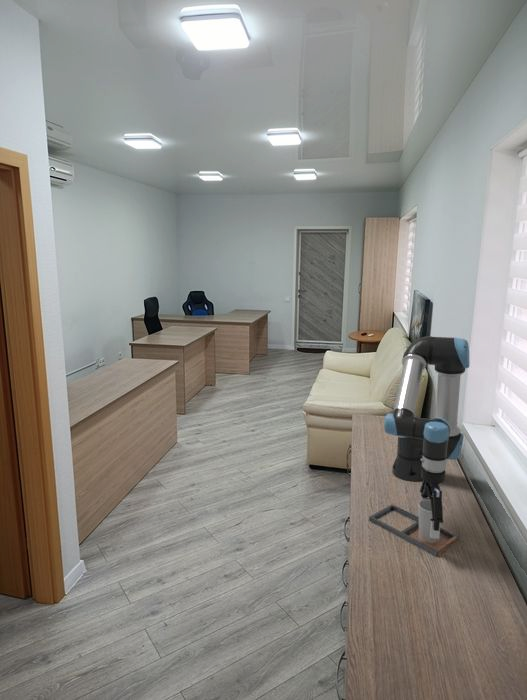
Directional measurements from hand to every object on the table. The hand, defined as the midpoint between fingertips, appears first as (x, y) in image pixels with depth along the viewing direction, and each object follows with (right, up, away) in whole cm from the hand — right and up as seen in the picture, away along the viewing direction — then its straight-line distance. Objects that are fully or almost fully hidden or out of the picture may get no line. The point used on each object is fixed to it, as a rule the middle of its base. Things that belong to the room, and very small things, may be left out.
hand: (429, 526), depth 154 cm
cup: (0, -5, +1) cm, 5 cm away
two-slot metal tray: (-4, -4, +6) cm, 8 cm away
